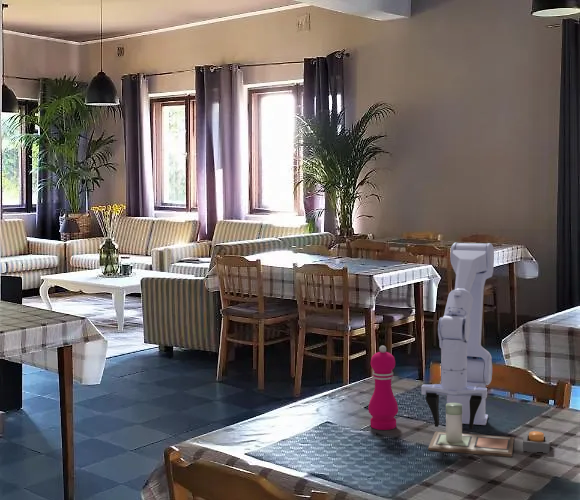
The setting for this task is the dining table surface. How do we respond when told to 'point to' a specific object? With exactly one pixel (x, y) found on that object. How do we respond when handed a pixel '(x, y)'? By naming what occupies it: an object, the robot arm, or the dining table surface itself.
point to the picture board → (474, 444)
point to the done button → (536, 436)
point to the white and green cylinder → (454, 422)
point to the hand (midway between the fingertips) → (454, 426)
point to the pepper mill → (383, 392)
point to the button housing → (535, 444)
